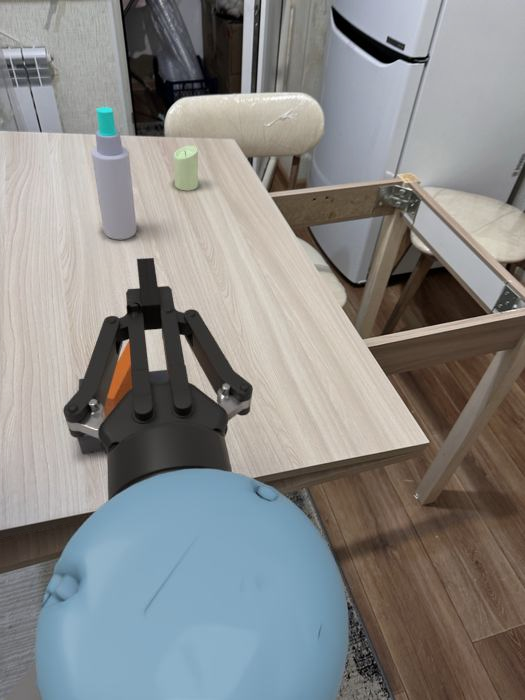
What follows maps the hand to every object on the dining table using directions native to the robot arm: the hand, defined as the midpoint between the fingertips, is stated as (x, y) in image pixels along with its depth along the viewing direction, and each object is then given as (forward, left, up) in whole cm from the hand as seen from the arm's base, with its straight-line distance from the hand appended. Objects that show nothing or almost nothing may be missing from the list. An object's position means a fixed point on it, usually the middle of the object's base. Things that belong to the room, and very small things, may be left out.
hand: (146, 270), depth 44 cm
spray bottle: (-41, +22, -25) cm, 53 cm away
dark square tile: (-4, -2, -24) cm, 25 cm away
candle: (-48, +44, -25) cm, 70 cm away
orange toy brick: (-4, -2, -21) cm, 21 cm away
